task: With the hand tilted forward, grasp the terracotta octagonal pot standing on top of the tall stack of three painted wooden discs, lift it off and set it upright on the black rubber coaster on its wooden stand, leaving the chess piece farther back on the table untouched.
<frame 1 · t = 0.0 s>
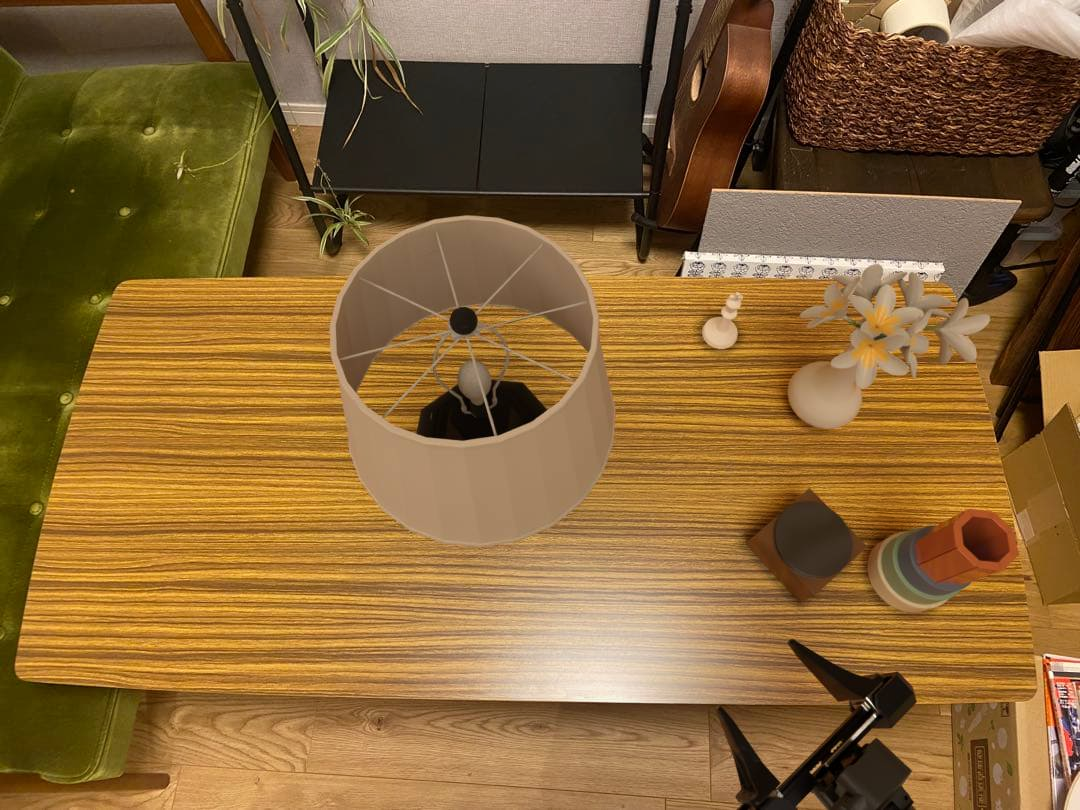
hand: (754, 673, 64), 17 cm above the table, tool horizontal, fingers open, 9 cm apart
terracotta octagonal pot: (943, 557, 77), point 9 cm above the table, touching disc stack
chess piece: (719, 334, 99), on the table
flower vase: (818, 403, 95), on the table
table lamp: (494, 482, 90), on the table
coaster stand: (797, 550, 86), on the table
disc stack: (904, 574, 85), on the table
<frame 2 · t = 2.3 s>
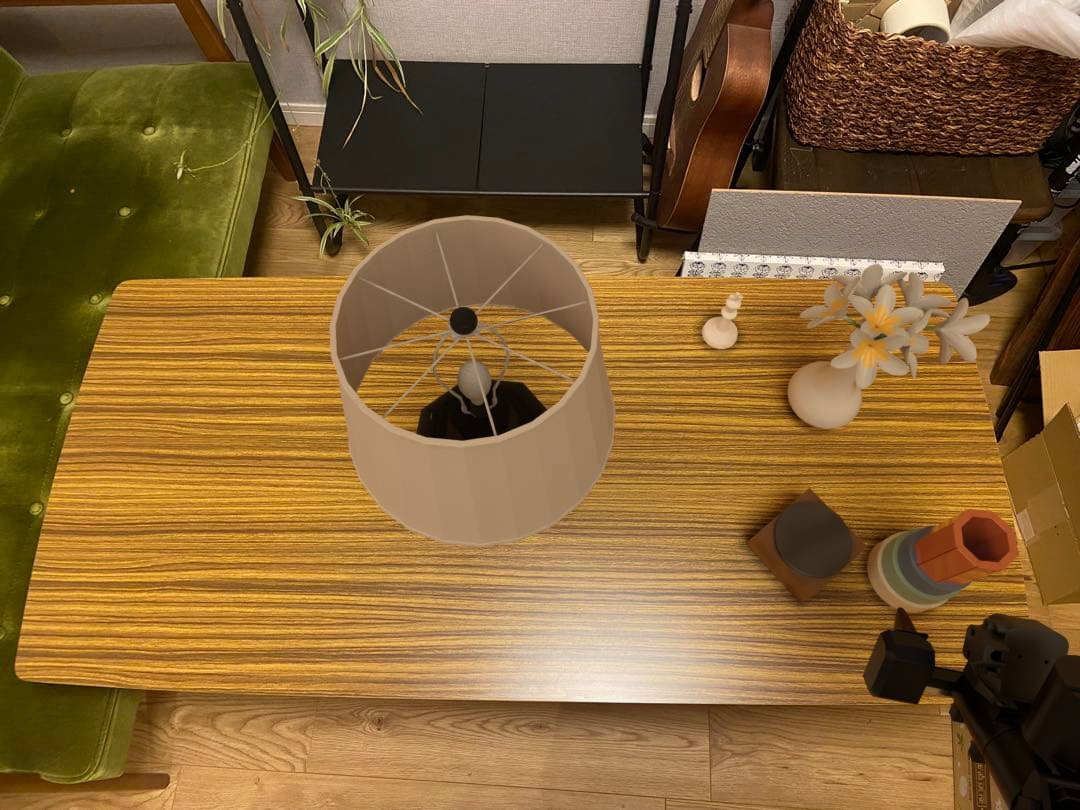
hand: (946, 619, 69), 14 cm above the table, tool tilted 50°, fingers open, 9 cm apart
nothing on the table moved.
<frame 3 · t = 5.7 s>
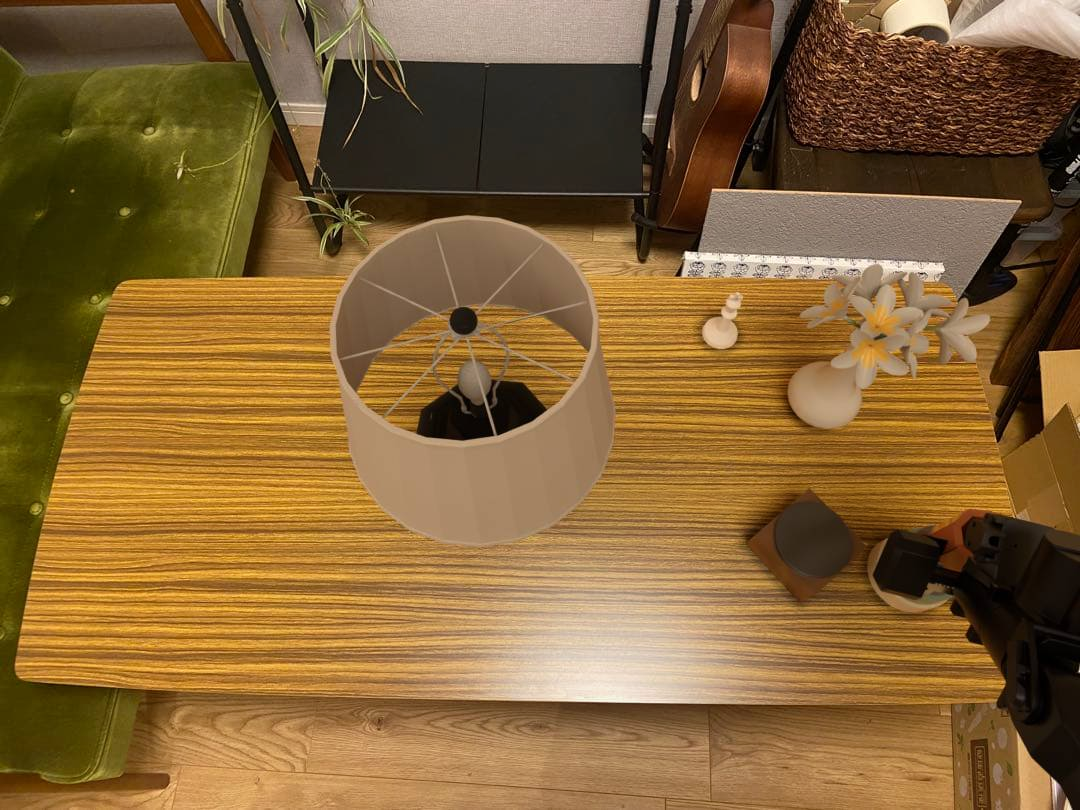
hand: (951, 541, 76), 11 cm above the table, tool tilted 45°, fingers closed on terracotta octagonal pot, 6 cm apart
terracotta octagonal pot: (943, 557, 77), point 9 cm above the table, touching disc stack, gripper
everything else where it was.
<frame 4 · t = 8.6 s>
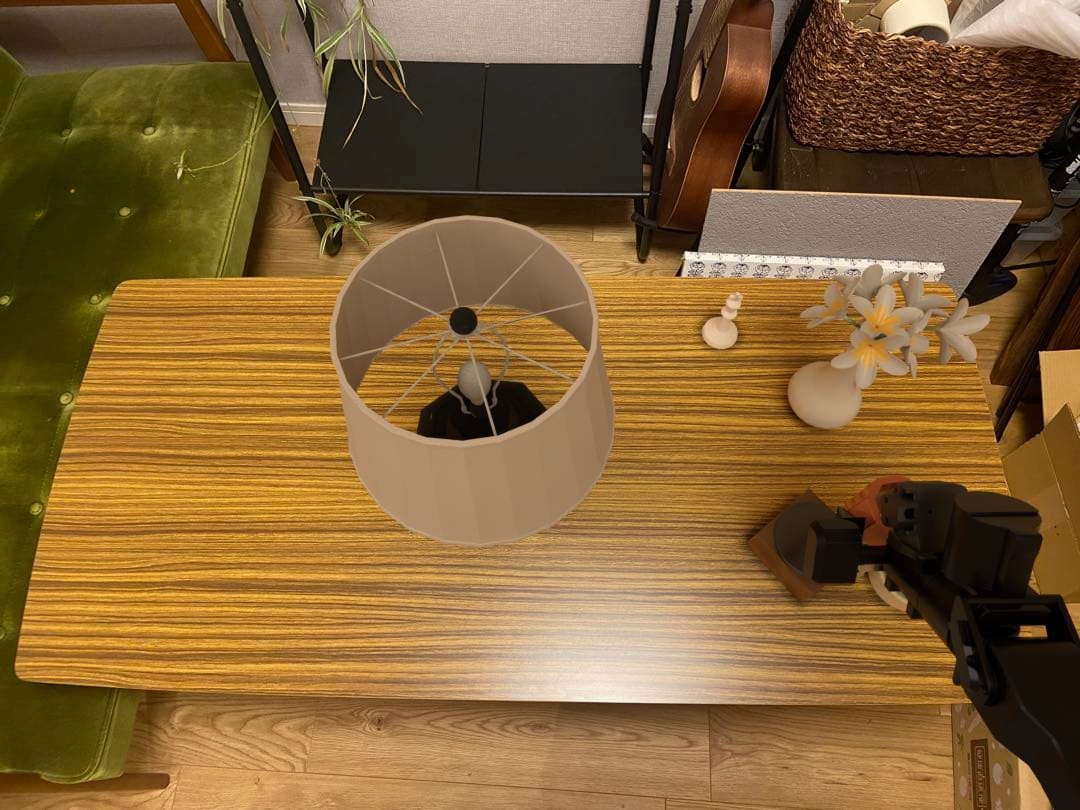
hand: (869, 510, 74), 13 cm above the table, tool tilted 45°, fingers closed on terracotta octagonal pot, 6 cm apart
terracotta octagonal pot: (865, 527, 75), point 12 cm above the table, touching gripper
everything else where it was.
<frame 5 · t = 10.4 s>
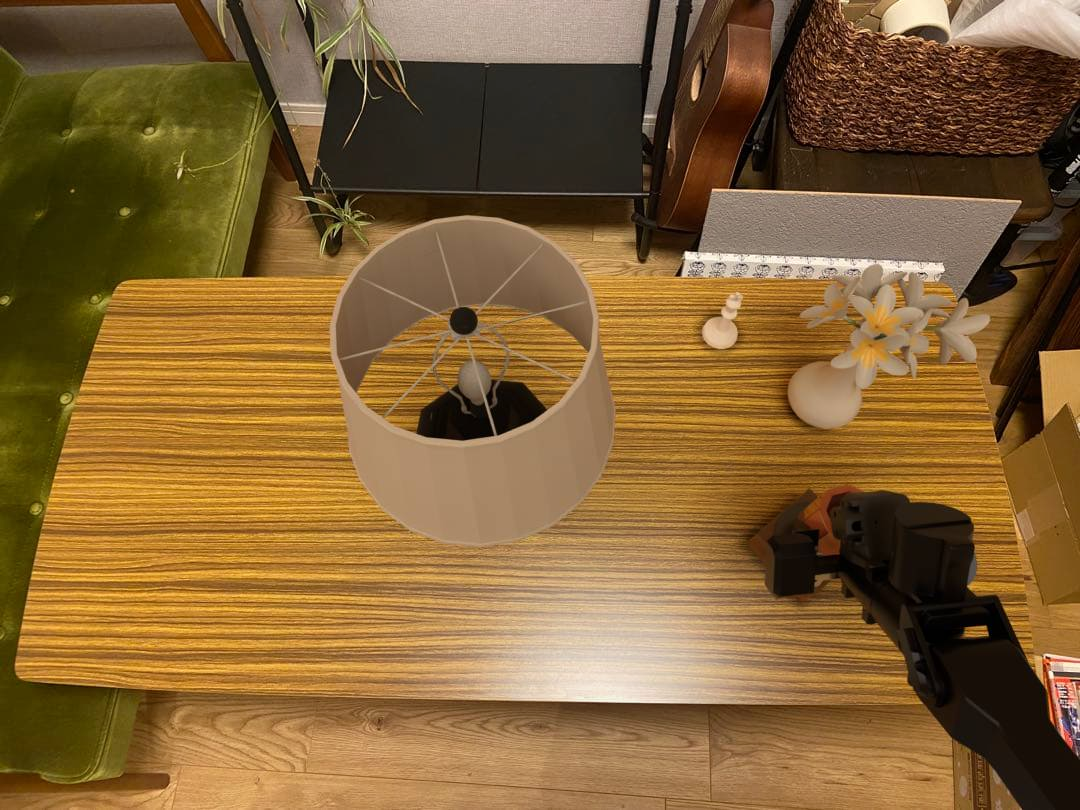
hand: (823, 518, 78), 10 cm above the table, tool tilted 45°, fingers closed on terracotta octagonal pot, 6 cm apart
terracotta octagonal pot: (821, 534, 79), point 8 cm above the table, touching gripper
everything else where it was.
when the fingers open (7 cm above the table, at t = 11.7 s): terracotta octagonal pot stays where it is, resting on coaster stand.
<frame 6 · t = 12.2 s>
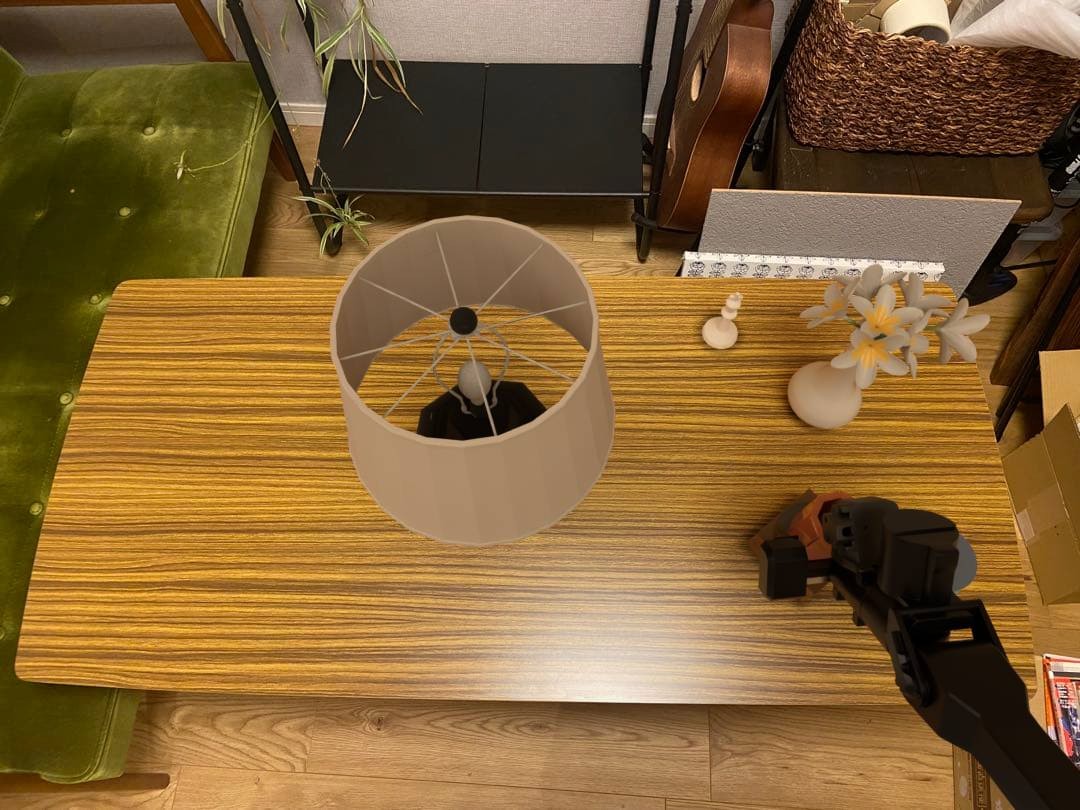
hand: (816, 522, 80), 7 cm above the table, tool tilted 45°, fingers open, 9 cm apart
terracotta octagonal pot: (813, 538, 81), point 6 cm above the table, touching coaster stand
everything else where it was.
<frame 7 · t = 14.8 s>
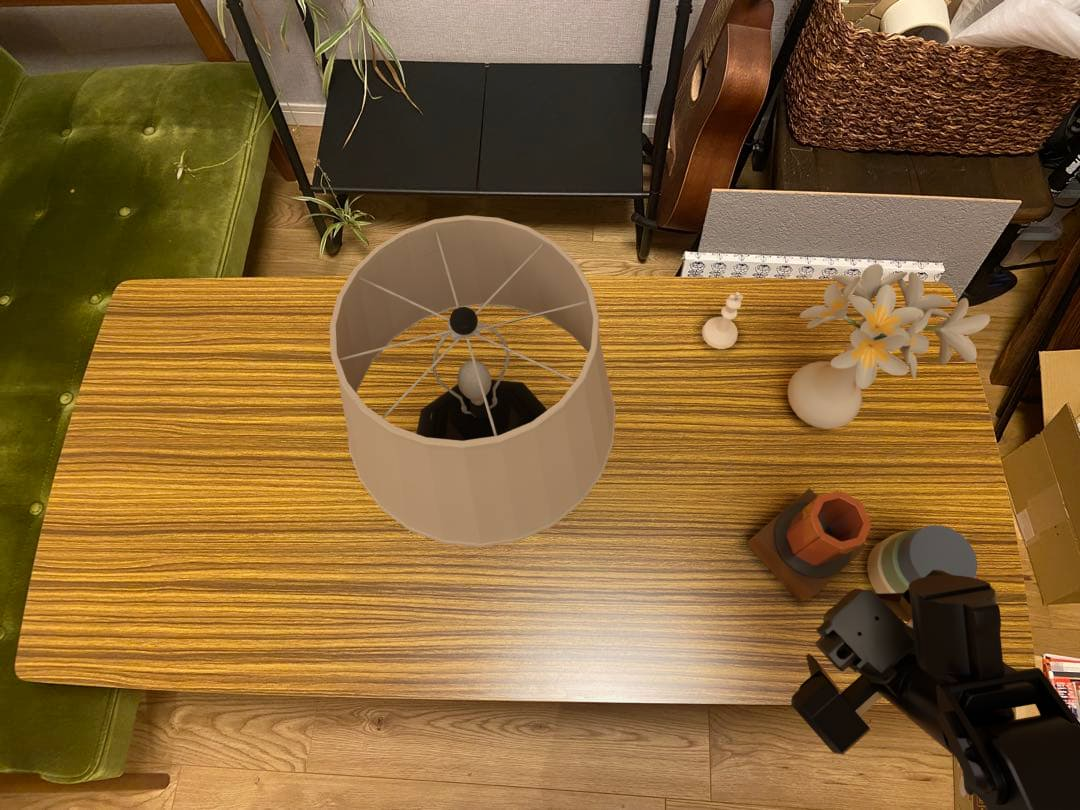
hand: (843, 627, 72), 10 cm above the table, tool tilted 30°, fingers open, 9 cm apart
nothing on the table moved.
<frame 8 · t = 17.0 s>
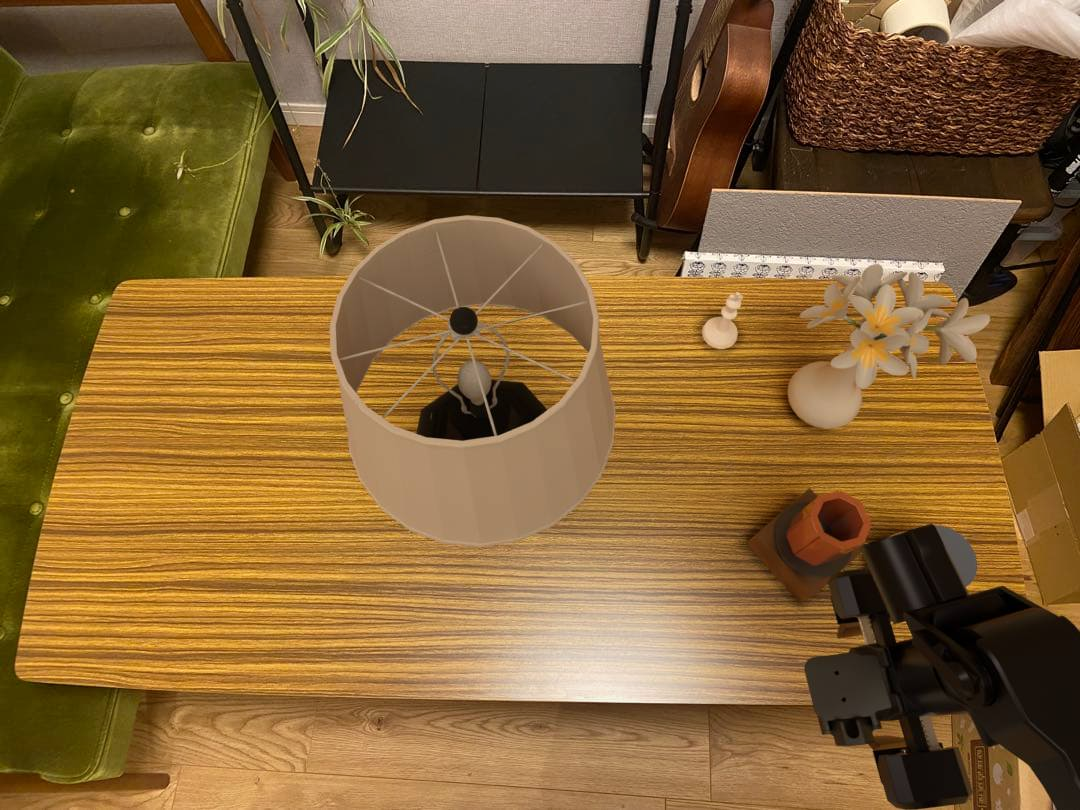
hand: (855, 686, 68), 13 cm above the table, tool pointing down, fingers open, 9 cm apart
nothing on the table moved.
at the end: terracotta octagonal pot 0.0 cm off-centre on the coaster stand, point 5.6 cm above the coaster stand's base; terracotta octagonal pot tilted 0°; chess piece moved 0.2 cm from its start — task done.
